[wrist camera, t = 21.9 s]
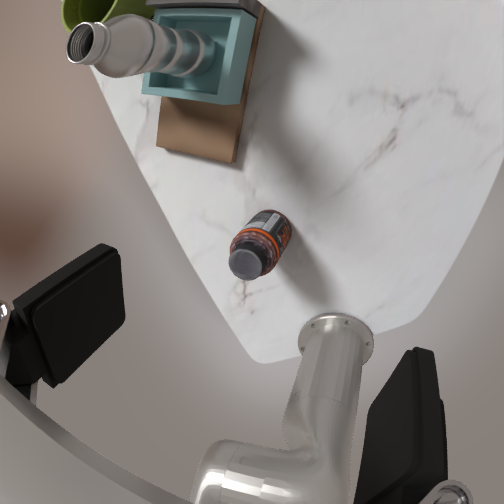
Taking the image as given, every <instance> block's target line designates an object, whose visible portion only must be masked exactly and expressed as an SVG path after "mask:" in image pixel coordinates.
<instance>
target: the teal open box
mask: <svg viewBox="0 0 504 504" xmlns="http://www.w3.org/2000/svg"><path fill="white" fill-rule="evenodd" d="M153 22H155V23H157V24H159V25H163V26H166V27H169V28H174V29H195V30H199V31H202V32H204V33H205V34H206V35H208V36H209V37H210V38H211V39H212V40H213V42H214V44H215V47H216V55H215V59H214V62H213V63H212V65H211V66H210V68H209V69H208V70H207V71H206V72H204V73H202V74H201V75H198V76H195V77H191V78H179V77H175V76H172V75H170V74H166V73H160V72H152V73H144V78H143V85H142V93H141V94H148V95H157V96H166V97H174V98H182V99H189V100H196V101H202V102H209V103H215V104H220V105H231V104H240V100H241V94H242V89H243V84H244V79H245V73H246V68H247V63H248V58H249V53H250V48H251V43H252V38H253V34H254V29H255V24H256V19H255V18H254V17H252V16H251V15H249V14H248V13H246V12H245V11H243V10H239V9H219V8H173V9H155V13H154V18H153Z"/></svg>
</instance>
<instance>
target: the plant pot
mask: <svg viewBox="0 0 504 504" xmlns="http://www.w3.org/2000/svg"><path fill="white" fill-rule="evenodd" d="M155 9H157V8H154V7H151V6H147V5H146V0H63V2H62V8H61V18H62V24H63V26H64V28H65V29H66V31H67V32H68V33H69V34H70V33H71V31H72V30H73V29H74V28H75V27H76V26H77V25H78V24H80V23H83V22H92V23H94V22H101V23H105V22H106V21H108V20H110V19H111V18H114V17H116V16H120V15H125V14H135V15H138V16H142V17H144V18H146V19H150V18H151V17H152V16H153V15H154V13H155Z"/></svg>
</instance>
